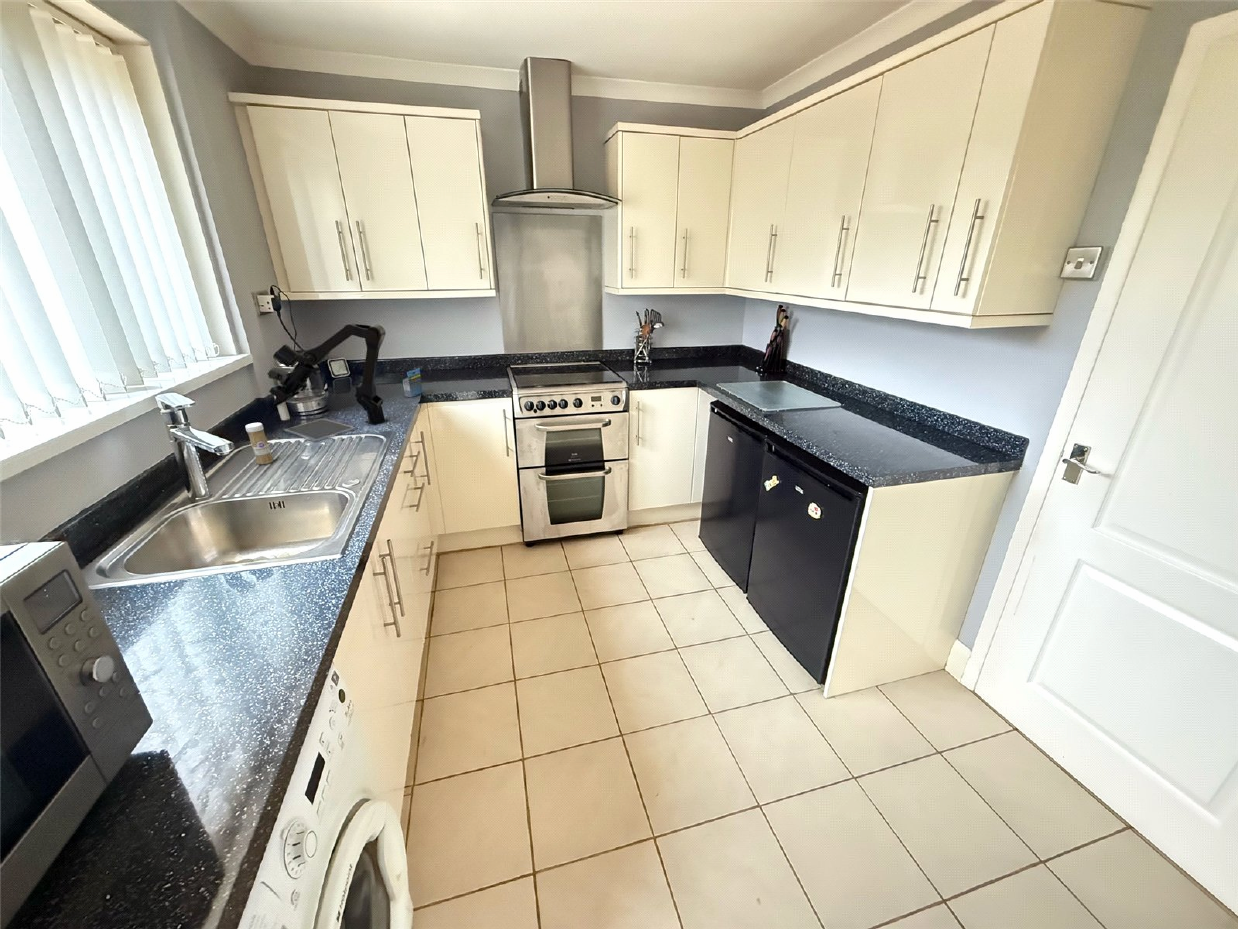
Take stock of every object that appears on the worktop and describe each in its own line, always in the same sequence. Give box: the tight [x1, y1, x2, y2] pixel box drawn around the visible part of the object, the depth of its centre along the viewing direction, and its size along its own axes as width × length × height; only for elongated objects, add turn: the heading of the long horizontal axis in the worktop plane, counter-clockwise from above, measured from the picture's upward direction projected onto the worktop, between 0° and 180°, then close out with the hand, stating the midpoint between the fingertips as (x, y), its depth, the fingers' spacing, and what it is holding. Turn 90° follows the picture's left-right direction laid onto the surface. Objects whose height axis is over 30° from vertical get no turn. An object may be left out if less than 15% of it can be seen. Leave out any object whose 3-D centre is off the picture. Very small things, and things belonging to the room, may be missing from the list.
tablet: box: [283, 418, 357, 443], centre depth 193 cm, size 22×16×1 cm
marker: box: [270, 384, 291, 423], centre depth 193 cm, size 3×3×14 cm
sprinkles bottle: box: [245, 422, 274, 465], centre depth 162 cm, size 5×5×13 cm
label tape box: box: [402, 367, 424, 398], centre depth 236 cm, size 9×4×12 cm, turn 164°
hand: (277, 403), depth 193 cm, fingers closed on marker, 3 cm apart
